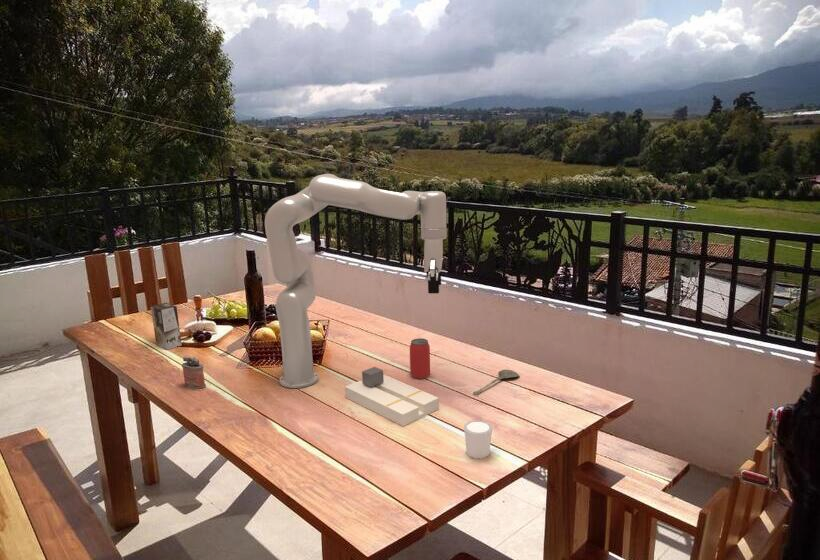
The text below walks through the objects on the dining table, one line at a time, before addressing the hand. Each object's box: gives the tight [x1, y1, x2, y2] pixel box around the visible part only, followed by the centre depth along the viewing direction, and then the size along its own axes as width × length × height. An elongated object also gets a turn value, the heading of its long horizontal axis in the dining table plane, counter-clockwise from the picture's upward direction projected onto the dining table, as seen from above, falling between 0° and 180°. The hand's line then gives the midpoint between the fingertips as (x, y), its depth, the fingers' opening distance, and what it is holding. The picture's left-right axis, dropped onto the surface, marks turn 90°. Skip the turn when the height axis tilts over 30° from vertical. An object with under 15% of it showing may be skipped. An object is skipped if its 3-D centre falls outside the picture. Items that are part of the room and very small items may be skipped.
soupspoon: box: [472, 369, 520, 396], centre depth 178 cm, size 22×3×7 cm
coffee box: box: [150, 302, 183, 351], centre depth 219 cm, size 9×6×16 cm
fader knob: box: [361, 366, 384, 387], centre depth 172 cm, size 4×5×6 cm
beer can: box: [409, 337, 431, 380], centre depth 185 cm, size 7×7×12 cm
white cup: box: [463, 420, 493, 459], centre depth 139 cm, size 7×7×7 cm
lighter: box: [181, 356, 207, 390], centre depth 181 cm, size 8×3×10 cm, turn 65°
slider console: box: [344, 373, 440, 427], centre depth 167 cm, size 26×14×4 cm, turn 43°
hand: (434, 288), depth 172 cm, fingers open, 9 cm apart
